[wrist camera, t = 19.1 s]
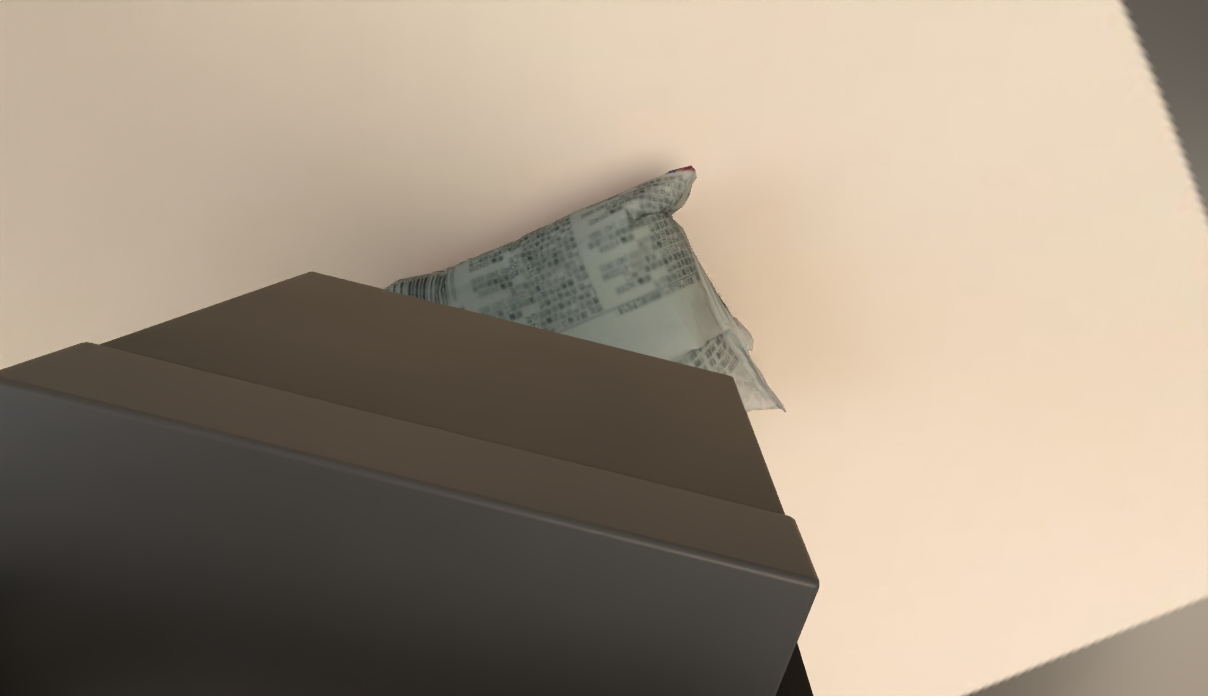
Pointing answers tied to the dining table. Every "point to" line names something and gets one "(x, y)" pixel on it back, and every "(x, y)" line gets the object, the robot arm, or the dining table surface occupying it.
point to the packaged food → (611, 285)
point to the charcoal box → (385, 511)
